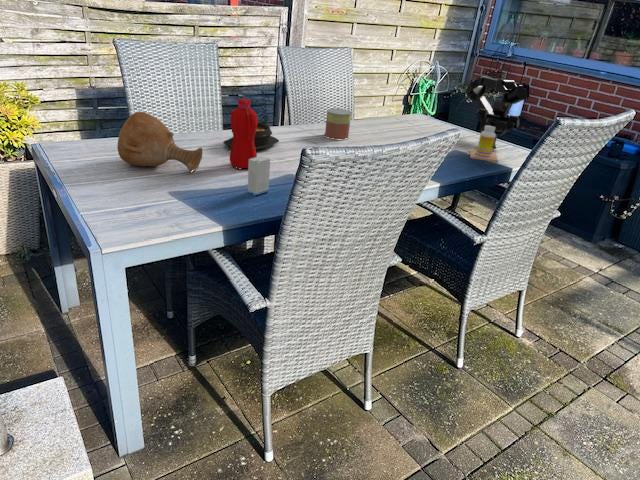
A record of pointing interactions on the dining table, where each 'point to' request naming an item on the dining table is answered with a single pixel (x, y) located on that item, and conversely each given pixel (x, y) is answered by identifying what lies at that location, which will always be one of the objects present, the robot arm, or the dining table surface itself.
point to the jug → (152, 143)
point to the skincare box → (258, 174)
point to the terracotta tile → (488, 158)
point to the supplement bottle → (486, 141)
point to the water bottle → (243, 134)
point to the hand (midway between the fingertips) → (490, 133)
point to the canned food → (337, 123)
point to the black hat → (259, 137)
